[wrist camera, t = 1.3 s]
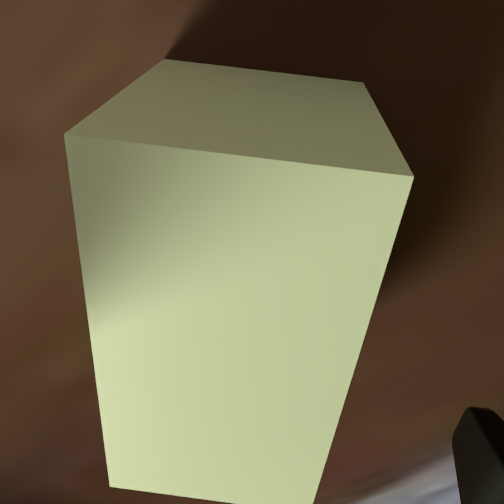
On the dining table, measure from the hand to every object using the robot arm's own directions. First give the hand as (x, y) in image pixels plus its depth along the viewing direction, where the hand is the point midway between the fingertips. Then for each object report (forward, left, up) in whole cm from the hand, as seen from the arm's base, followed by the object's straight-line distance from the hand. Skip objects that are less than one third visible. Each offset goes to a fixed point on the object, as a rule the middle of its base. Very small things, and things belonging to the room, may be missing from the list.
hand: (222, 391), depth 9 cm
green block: (0, 0, -6) cm, 6 cm away
